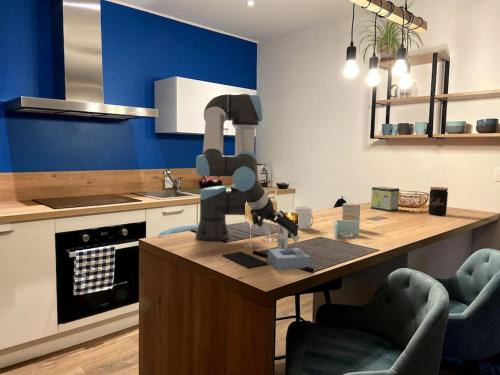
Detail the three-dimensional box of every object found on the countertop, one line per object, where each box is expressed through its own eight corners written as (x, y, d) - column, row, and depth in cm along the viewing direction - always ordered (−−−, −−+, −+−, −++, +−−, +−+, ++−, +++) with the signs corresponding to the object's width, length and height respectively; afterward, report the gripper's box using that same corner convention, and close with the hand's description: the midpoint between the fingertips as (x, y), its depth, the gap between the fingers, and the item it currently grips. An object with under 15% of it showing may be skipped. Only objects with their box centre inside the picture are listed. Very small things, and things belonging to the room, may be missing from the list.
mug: (306, 231, 193) (306, 210, 192) (291, 227, 203) (291, 207, 202) (318, 230, 197) (319, 209, 196) (303, 225, 207) (304, 206, 206)
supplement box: (359, 228, 203) (360, 204, 202) (356, 230, 199) (357, 205, 198) (344, 226, 208) (345, 202, 207) (341, 227, 204) (342, 203, 203)
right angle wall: (335, 240, 179) (336, 224, 178) (333, 234, 190) (334, 219, 190) (361, 241, 177) (362, 225, 176) (358, 235, 189) (359, 220, 188)
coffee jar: (425, 214, 253) (427, 187, 251) (432, 212, 260) (434, 186, 258) (442, 216, 245) (444, 189, 243) (448, 215, 252) (450, 188, 250)
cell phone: (240, 253, 152) (240, 251, 152) (268, 265, 138) (268, 263, 138) (221, 256, 147) (221, 254, 147) (248, 270, 133) (248, 267, 133)
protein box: (378, 207, 277) (380, 186, 276) (398, 210, 265) (400, 188, 264) (370, 208, 271) (371, 186, 269) (390, 212, 259) (391, 189, 257)
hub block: (276, 269, 132) (277, 258, 132) (267, 259, 144) (267, 249, 144) (309, 267, 135) (309, 256, 135) (297, 258, 147) (298, 247, 146)
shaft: (278, 255, 150) (279, 222, 149) (275, 252, 154) (276, 220, 153) (288, 254, 151) (289, 222, 150) (285, 251, 155) (286, 220, 154)
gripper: (229, 206, 144) (254, 238, 157) (283, 215, 128) (306, 250, 141) (239, 191, 148) (262, 224, 161) (293, 198, 132) (314, 234, 144)
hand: (282, 236), depth 151 cm, fingers open, 13 cm apart
